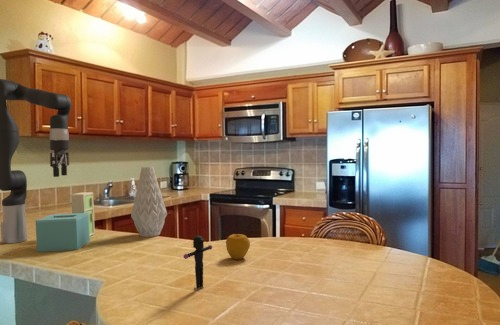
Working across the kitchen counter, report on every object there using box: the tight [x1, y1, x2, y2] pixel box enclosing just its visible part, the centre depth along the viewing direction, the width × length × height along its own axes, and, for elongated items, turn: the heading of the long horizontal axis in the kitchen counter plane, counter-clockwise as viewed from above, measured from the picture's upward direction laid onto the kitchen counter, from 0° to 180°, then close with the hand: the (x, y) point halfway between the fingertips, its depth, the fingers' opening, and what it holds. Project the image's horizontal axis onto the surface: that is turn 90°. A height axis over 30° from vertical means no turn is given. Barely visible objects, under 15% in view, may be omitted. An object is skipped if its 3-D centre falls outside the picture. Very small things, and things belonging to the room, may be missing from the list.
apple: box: [225, 233, 251, 260], centre depth 137 cm, size 8×8×9 cm
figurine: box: [183, 235, 213, 291], centre depth 107 cm, size 12×4×15 cm, turn 149°
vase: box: [130, 166, 168, 238], centre depth 181 cm, size 17×17×33 cm
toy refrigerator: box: [71, 191, 96, 237], centre depth 184 cm, size 8×7×21 cm
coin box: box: [35, 212, 91, 253], centre depth 164 cm, size 16×16×13 cm
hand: (60, 176), depth 167 cm, fingers open, 8 cm apart
